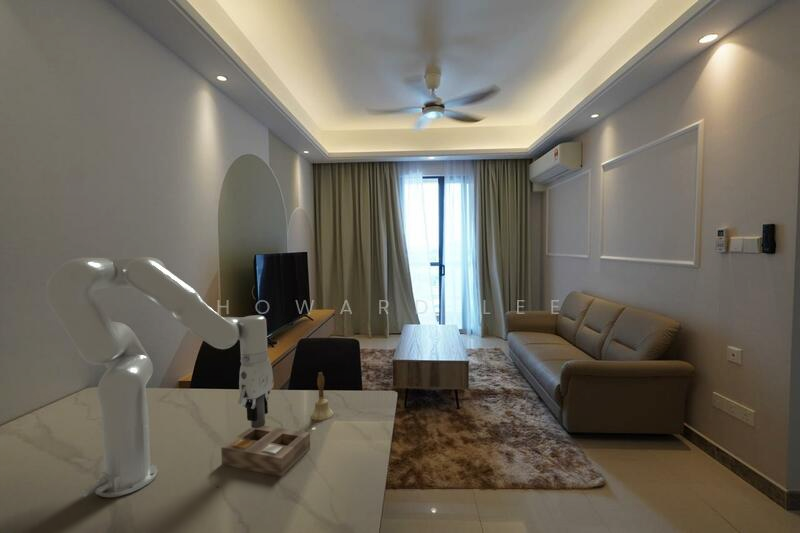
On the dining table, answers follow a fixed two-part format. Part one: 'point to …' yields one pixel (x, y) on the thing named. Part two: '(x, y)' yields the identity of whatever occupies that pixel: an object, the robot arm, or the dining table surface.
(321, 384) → the hand bell
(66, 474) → the dining table surface
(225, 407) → the dining table surface
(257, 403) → the plug
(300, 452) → the socket block
